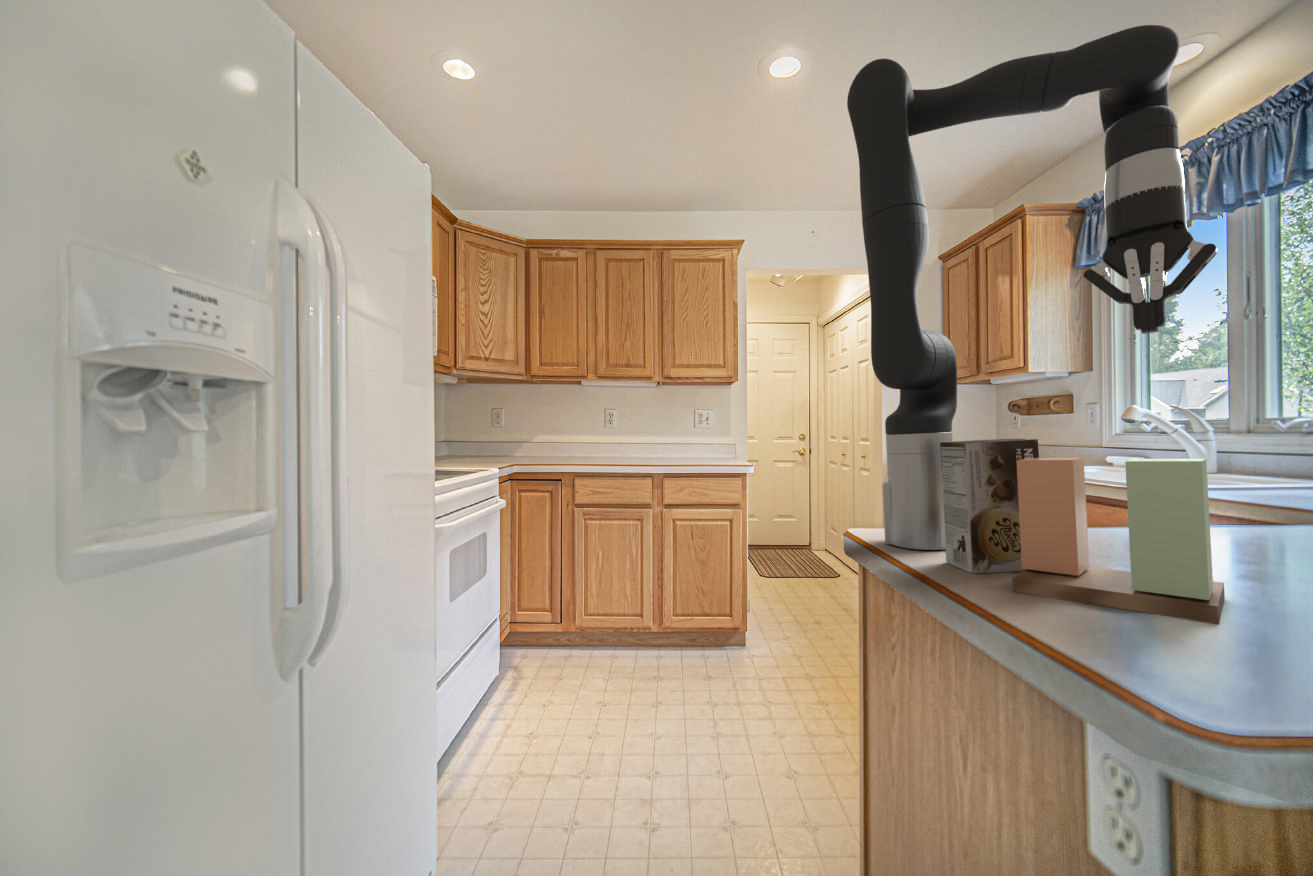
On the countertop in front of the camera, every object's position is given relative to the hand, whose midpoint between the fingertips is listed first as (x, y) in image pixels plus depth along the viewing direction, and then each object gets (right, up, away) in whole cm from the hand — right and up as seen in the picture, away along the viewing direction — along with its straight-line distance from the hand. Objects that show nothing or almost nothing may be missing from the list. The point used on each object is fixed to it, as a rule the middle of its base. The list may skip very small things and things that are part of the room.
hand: (1150, 332), depth 67 cm
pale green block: (-15, -28, -18) cm, 36 cm away
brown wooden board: (-17, -30, -14) cm, 36 cm away
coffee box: (-20, -30, -1) cm, 36 cm away
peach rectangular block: (-19, -28, -9) cm, 35 cm away
